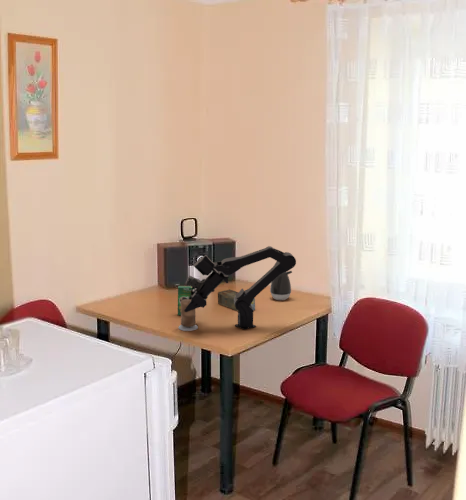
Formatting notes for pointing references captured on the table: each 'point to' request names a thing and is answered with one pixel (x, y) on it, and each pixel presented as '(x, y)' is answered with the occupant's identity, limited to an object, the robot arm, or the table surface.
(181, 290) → the coffee box
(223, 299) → the beverage carton
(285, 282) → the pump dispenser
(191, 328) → the slate pad
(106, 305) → the table surface
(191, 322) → the brown rounded cylinder
